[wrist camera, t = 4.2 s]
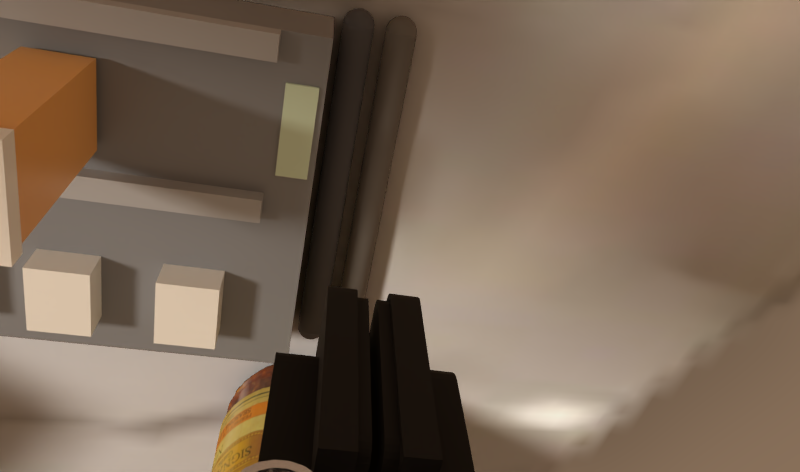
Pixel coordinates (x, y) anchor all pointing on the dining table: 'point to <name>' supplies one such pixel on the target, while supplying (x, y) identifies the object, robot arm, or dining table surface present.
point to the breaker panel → (176, 177)
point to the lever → (41, 136)
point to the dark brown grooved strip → (340, 157)
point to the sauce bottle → (244, 424)
